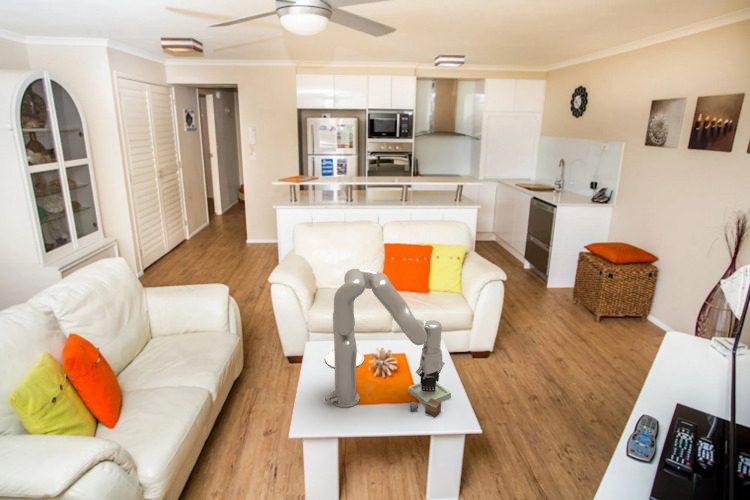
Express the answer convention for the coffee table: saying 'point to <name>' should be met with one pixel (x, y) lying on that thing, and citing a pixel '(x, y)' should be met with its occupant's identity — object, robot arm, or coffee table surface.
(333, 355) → the plate
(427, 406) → the block
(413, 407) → the ball
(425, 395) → the tray
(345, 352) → the robot arm
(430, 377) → the battery
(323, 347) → the coffee table surface
